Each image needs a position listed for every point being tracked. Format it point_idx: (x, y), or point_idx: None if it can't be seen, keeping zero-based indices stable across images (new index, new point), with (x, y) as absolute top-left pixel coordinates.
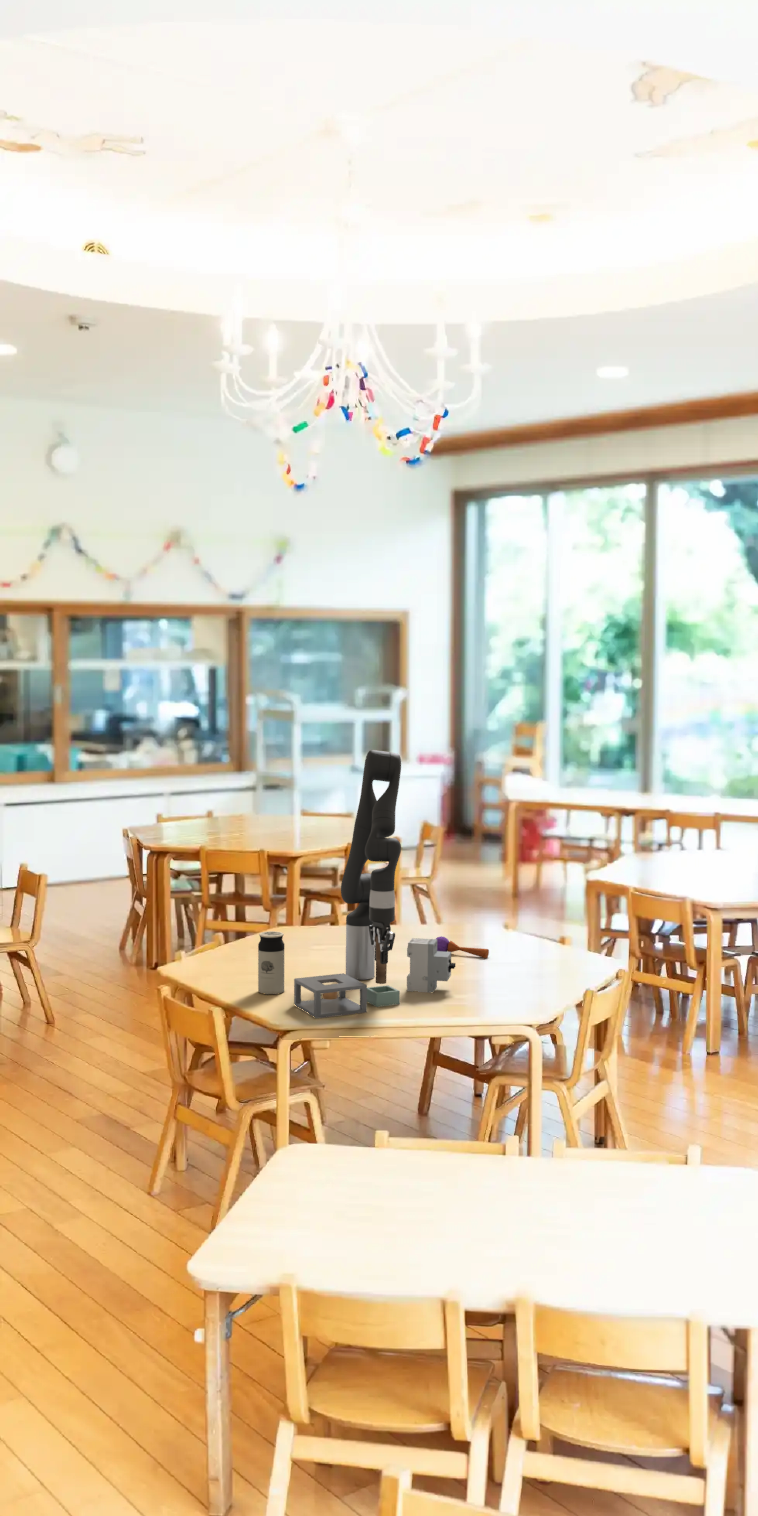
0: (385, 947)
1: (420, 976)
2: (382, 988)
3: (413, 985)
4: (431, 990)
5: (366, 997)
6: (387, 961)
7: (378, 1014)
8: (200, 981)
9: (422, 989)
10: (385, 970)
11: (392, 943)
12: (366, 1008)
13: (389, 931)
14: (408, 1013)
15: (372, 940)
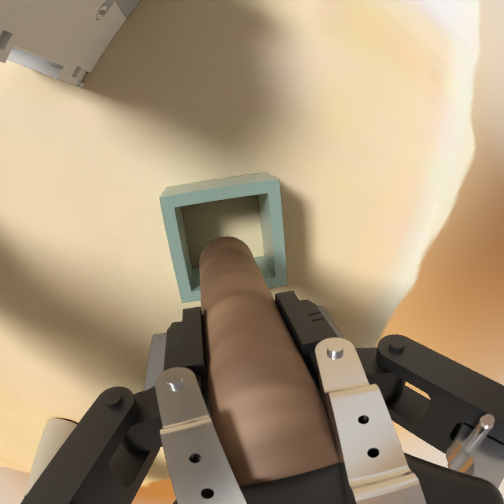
0: (412, 398)
1: (90, 21)
2: (179, 227)
3: (87, 59)
4: (134, 4)
5: (340, 333)
6: (310, 302)
7: (354, 279)
8: (27, 467)
9: (112, 31)
10: (261, 274)
11: (457, 372)
12: (325, 312)
13: (501, 474)
14: (381, 189)
15: (150, 466)
